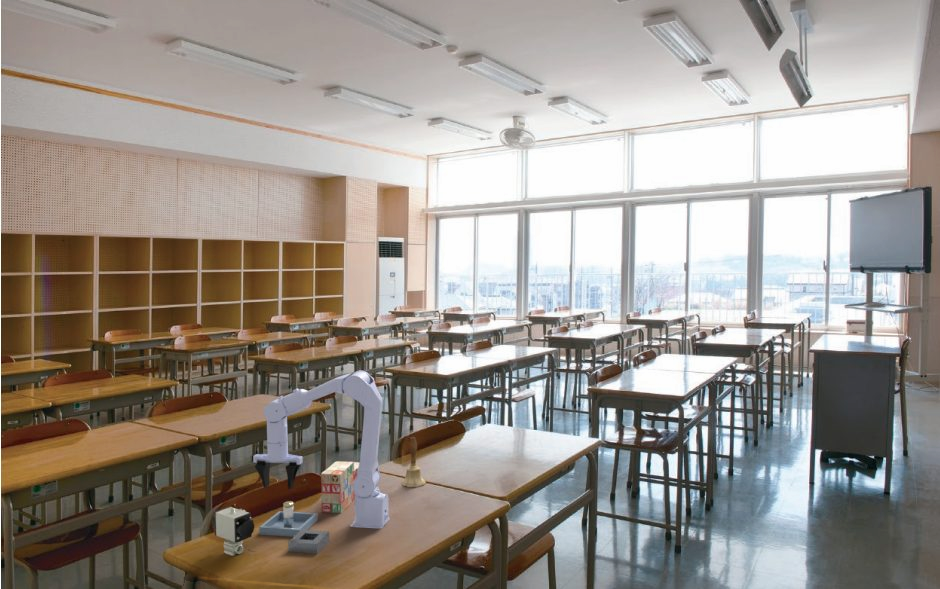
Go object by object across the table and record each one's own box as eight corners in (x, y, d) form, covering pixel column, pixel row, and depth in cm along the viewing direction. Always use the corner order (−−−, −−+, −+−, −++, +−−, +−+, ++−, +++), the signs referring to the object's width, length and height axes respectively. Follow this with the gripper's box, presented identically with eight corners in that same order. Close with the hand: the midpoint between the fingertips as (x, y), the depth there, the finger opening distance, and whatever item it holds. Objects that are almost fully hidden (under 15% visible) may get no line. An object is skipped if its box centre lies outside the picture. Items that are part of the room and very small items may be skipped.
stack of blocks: (346, 488, 220) (345, 452, 219) (364, 489, 219) (363, 453, 218) (321, 512, 199) (320, 472, 198) (341, 513, 198) (340, 473, 197)
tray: (317, 521, 191) (317, 513, 191) (299, 538, 179) (299, 529, 179) (279, 519, 193) (279, 511, 193) (259, 536, 182) (259, 527, 181)
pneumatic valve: (240, 562, 165) (239, 515, 165) (212, 551, 172) (210, 506, 171) (258, 554, 170) (257, 508, 169) (230, 544, 176) (228, 500, 176)
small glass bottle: (296, 526, 186) (295, 502, 186) (288, 530, 184) (287, 505, 184) (289, 524, 188) (289, 500, 188) (281, 527, 186) (281, 503, 185)
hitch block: (329, 542, 177) (329, 531, 177) (317, 555, 169) (317, 544, 169) (301, 540, 178) (301, 529, 178) (288, 553, 170) (288, 541, 170)
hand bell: (404, 479, 229) (403, 434, 228) (427, 480, 228) (427, 434, 227) (398, 487, 221) (398, 440, 220) (422, 488, 220) (422, 441, 219)
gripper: (306, 438, 193) (307, 483, 193) (261, 436, 195) (262, 481, 196) (296, 445, 186) (297, 492, 186) (249, 443, 188) (250, 489, 189)
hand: (278, 487), depth 191 cm, fingers open, 7 cm apart
